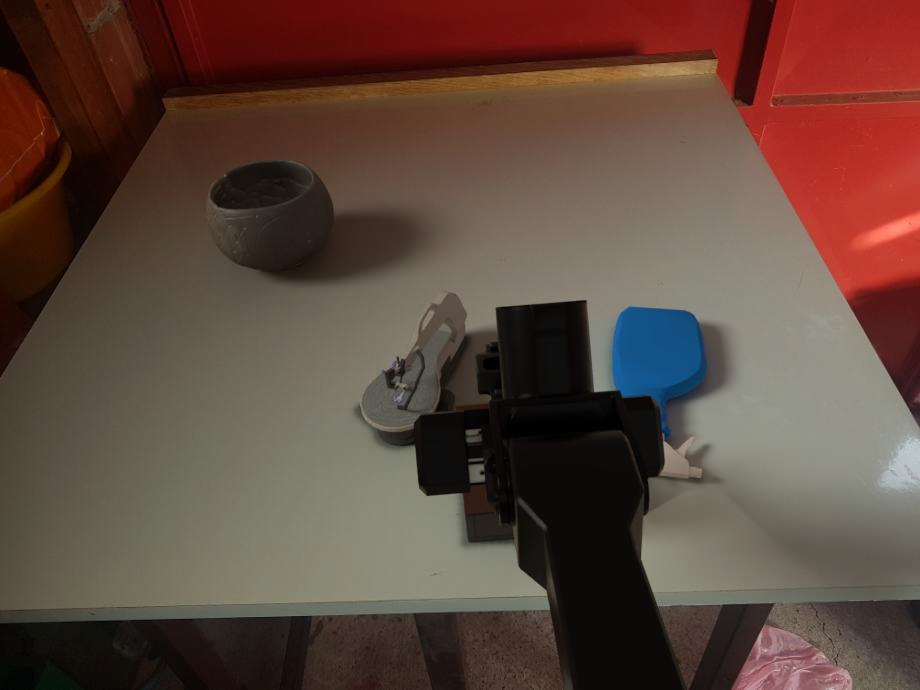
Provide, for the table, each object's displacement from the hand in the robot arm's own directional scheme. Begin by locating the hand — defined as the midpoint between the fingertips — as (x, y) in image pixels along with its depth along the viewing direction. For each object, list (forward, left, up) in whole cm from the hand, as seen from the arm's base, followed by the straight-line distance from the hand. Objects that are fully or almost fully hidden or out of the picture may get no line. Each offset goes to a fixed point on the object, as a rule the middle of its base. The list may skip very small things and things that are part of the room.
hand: (528, 432), depth 62 cm
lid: (0, 0, -3) cm, 3 cm away
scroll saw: (+20, +7, -13) cm, 25 cm away
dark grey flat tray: (+2, 0, -13) cm, 13 cm away
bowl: (+54, +22, -13) cm, 59 cm away
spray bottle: (+11, -19, -13) cm, 26 cm away
